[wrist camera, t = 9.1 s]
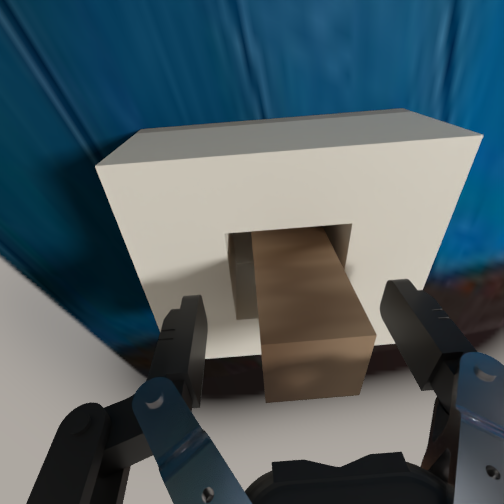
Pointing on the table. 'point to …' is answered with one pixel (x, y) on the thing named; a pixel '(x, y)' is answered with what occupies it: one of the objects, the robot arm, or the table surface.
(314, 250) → the peg
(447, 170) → the socket block
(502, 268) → the table surface
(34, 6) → the table surface
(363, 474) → the robot arm
